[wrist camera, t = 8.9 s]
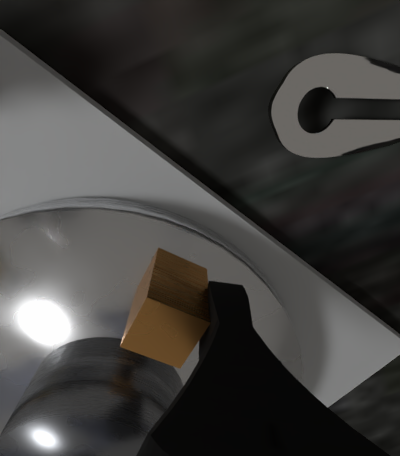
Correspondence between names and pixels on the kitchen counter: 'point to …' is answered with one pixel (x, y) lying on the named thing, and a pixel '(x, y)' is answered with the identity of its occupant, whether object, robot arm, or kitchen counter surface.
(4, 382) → the turntable
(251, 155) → the kitchen counter surface
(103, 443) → the cover
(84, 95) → the base plate
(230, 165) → the kitchen counter surface
